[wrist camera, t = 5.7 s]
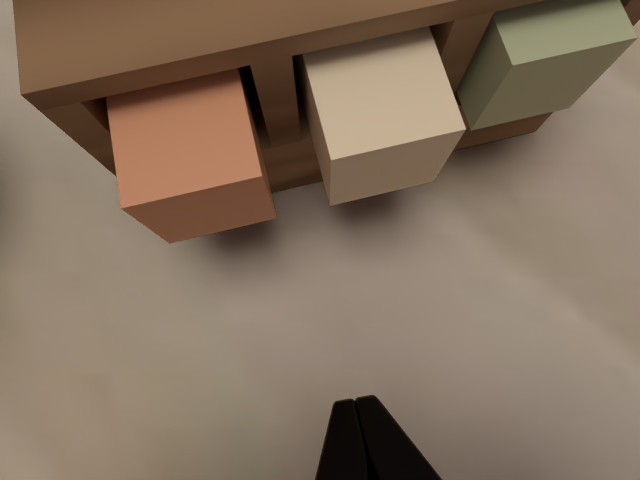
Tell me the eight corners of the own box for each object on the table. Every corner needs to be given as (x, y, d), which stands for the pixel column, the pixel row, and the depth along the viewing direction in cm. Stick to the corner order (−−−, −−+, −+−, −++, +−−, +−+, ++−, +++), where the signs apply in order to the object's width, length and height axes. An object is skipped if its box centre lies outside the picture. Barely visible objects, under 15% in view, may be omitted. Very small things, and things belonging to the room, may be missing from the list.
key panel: (535, 131, 23) (707, -54, 12) (164, 217, 22) (20, 94, 12) (481, -3, 25) (591, -257, 14) (140, 71, 24) (1, -144, 14)
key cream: (433, 181, 17) (466, 129, 13) (330, 205, 17) (330, 160, 13) (389, 47, 18) (406, -36, 14) (293, 68, 18) (285, -10, 14)
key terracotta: (277, 218, 16) (262, 175, 13) (169, 243, 16) (121, 208, 12) (245, 79, 18) (222, 3, 14) (146, 100, 18) (96, 29, 14)
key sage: (568, 108, 17) (638, 37, 14) (470, 130, 17) (512, 65, 13) (516, -16, 19) (565, -111, 15) (424, 4, 19) (450, -87, 15)
